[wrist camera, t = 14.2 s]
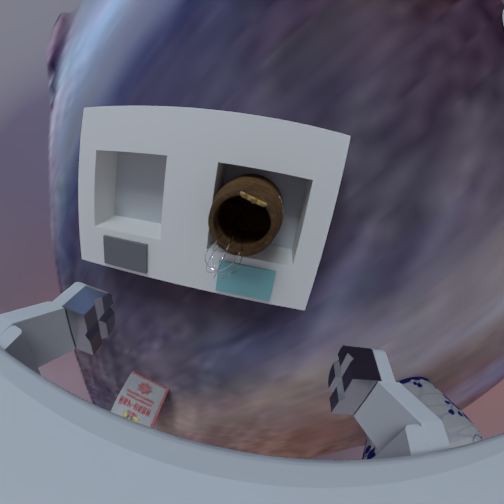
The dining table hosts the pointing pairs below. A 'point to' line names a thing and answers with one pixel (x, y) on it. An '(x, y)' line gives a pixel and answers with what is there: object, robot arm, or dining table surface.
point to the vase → (443, 408)
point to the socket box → (204, 196)
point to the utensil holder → (245, 216)
